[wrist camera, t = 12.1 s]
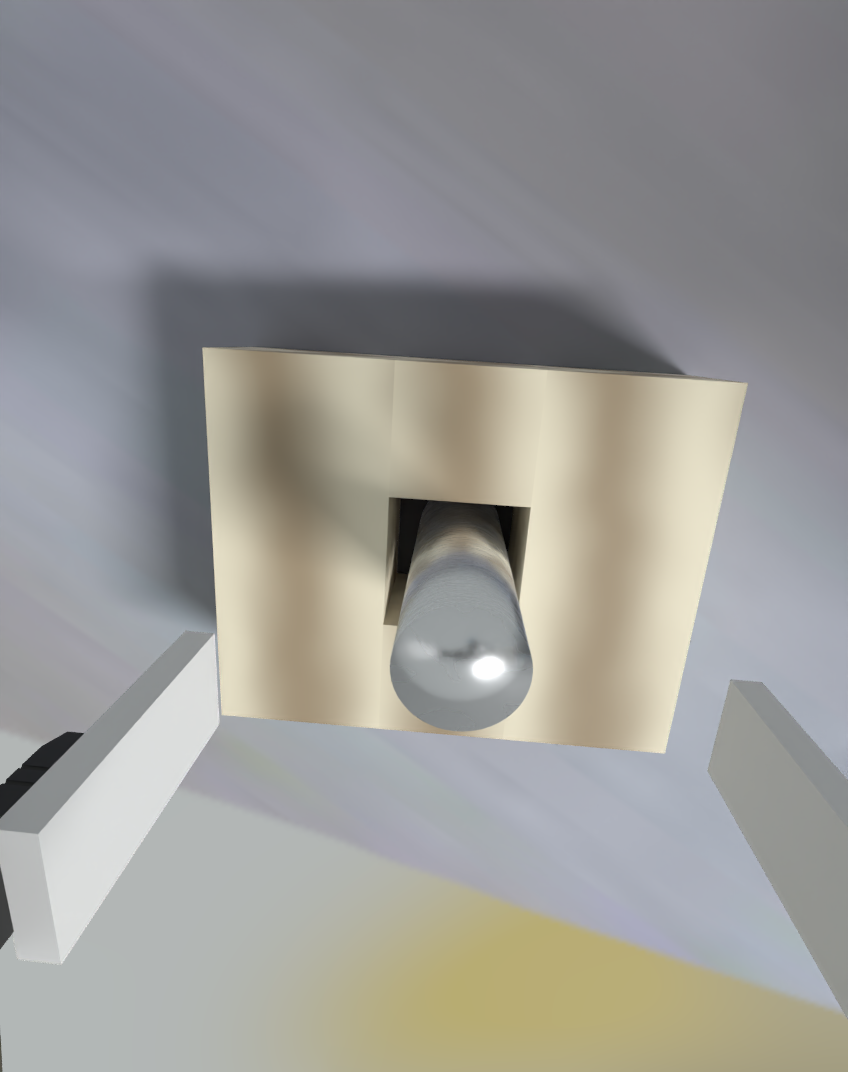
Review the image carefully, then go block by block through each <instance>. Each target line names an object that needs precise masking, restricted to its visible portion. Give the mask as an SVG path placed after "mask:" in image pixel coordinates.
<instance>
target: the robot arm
mask: <svg viewBox="0 0 848 1072" xmlns="http://www.w3.org/2000/svg"><path fill="white" fill-rule="evenodd" d="M218 725H219V707H218V689H217V670H216V652H215V633H204V632H193V631H185V632H184V633H183V634H182V635H181V636H180V637H179V638H178V639H177V640H176V641H175V642H174V643H173V644H172V645H171V646H170V647H169V648H168V649H167V650H166V651H165V652H164V653H163V654H162V655H161V656H160V657H159V658H158V659H157V660H156V661H155V662H154V663H153V664H152V665H151V666H150V667H149V668H148V670H147V671H146V672H145V673H144V674H143V675H142V676H141V677H140V678H139V679H138V680H137V681H136V682H135V683H134V684H133V685H132V686H131V687H130V688H129V689H128V690H127V691H126V692H125V693H124V694H123V695H122V696H121V697H120V698H119V699H118V700H117V701H116V702H115V703H114V704H113V705H112V706H111V707H110V708H109V709H108V710H107V711H106V712H105V713H104V714H103V715H102V716H101V717H100V718H99V719H98V720H97V721H96V722H95V723H94V724H93V725H92V726H91V727H90V728H89V729H88V730H87V731H86V732H85V733H76V732H66V733H64V734H63V735H61V736H59V737H57V738H56V739H54V740H52V741H50V742H48V743H47V744H45V745H43V746H41V747H40V748H39V749H38V750H37V751H36V752H35V753H34V754H33V755H32V756H31V757H30V758H29V759H28V760H27V761H25V762H24V763H23V764H22V767H21V768H18V769H17V770H16V771H15V772H14V773H13V774H12V775H11V776H10V777H9V778H7V779H6V783H5V784H1V785H0V949H1V947H2V946H3V945H4V943H5V942H6V941H7V940H8V938H9V937H10V936H11V935H12V937H13V941H14V946H15V951H16V956H17V959H18V960H25V961H34V962H42V963H51V964H59V965H62V963H63V962H64V960H65V958H66V957H67V955H68V954H69V952H70V951H71V949H72V948H73V946H74V945H75V943H76V942H77V940H78V939H79V937H80V936H81V934H82V933H83V931H84V929H85V928H86V926H87V925H88V923H89V922H90V920H91V919H92V917H93V916H94V914H95V913H96V911H97V909H98V908H99V907H100V905H101V904H102V902H103V901H104V899H105V897H106V896H107V894H108V893H109V891H110V890H111V888H112V887H113V885H114V884H115V882H116V880H117V879H118V878H119V876H120V875H121V873H122V872H123V870H124V868H125V867H126V865H127V864H128V862H129V861H130V859H131V858H132V856H133V855H134V853H135V852H136V850H137V849H138V847H139V846H140V844H141V843H142V841H143V840H144V838H145V837H146V835H147V833H148V832H149V830H150V829H151V827H152V826H153V824H154V823H155V821H156V819H157V818H158V817H159V815H160V814H161V812H162V811H163V809H164V808H165V806H166V804H167V803H168V801H169V800H170V798H171V797H172V795H173V794H174V792H175V791H176V789H177V788H178V786H179V785H180V783H181V782H182V780H183V779H184V777H185V776H186V774H187V772H188V771H189V769H190V768H191V766H192V765H193V763H194V762H195V760H196V759H197V757H198V756H199V754H200V753H201V751H202V750H203V748H204V747H205V745H206V743H207V742H208V740H209V739H210V737H211V736H212V734H213V733H214V731H215V730H216V728H217V727H218ZM708 773H709V775H710V776H711V778H712V780H713V782H714V783H715V785H716V787H717V789H718V791H719V792H720V794H721V796H722V798H723V799H724V801H725V803H726V805H727V807H728V808H729V810H730V812H731V814H732V815H733V817H734V819H735V821H736V822H737V824H738V826H739V828H740V830H741V831H742V833H743V835H744V837H745V838H746V840H747V842H748V844H749V845H750V847H751V849H752V851H753V853H754V854H755V856H756V858H757V860H758V861H759V863H760V865H761V867H762V869H763V870H764V872H765V874H766V876H767V877H768V879H769V881H770V883H771V884H772V886H773V888H774V890H775V892H776V893H777V895H778V897H779V899H780V900H781V902H782V904H783V906H784V908H785V909H786V911H787V913H788V915H789V916H790V918H791V920H792V922H793V923H794V925H795V927H796V929H797V931H798V932H799V934H800V936H801V938H802V939H803V941H804V943H805V945H806V946H807V948H808V950H809V952H810V954H811V955H812V957H813V959H814V961H815V962H816V964H817V966H818V968H819V970H820V971H821V973H822V975H823V977H824V978H825V980H826V982H827V984H828V985H829V987H830V989H831V991H832V993H833V994H834V996H835V998H836V1000H837V1001H838V1003H839V1005H840V1007H841V1009H842V1010H843V1012H844V1014H845V1016H846V1017H847V1019H848V780H847V779H846V778H845V776H844V775H843V774H842V773H841V772H840V771H839V770H838V768H837V767H836V766H835V765H834V764H833V763H832V762H831V760H830V759H829V758H828V757H827V756H826V755H825V754H824V752H823V751H822V750H821V749H820V748H819V747H818V746H817V744H816V743H815V742H814V741H813V740H812V739H811V738H810V736H809V735H808V734H807V733H806V732H805V731H804V730H803V728H802V727H801V726H800V725H799V724H798V723H797V722H796V720H795V719H794V718H793V717H792V716H791V715H790V714H789V712H788V711H787V710H786V709H785V708H784V707H783V706H782V704H781V703H780V702H779V701H778V700H777V699H776V698H775V696H774V695H773V694H772V693H771V692H770V691H769V690H768V688H767V687H766V686H765V685H764V684H763V683H762V682H753V681H742V680H730V684H729V688H728V692H727V696H726V700H725V704H724V708H723V712H722V716H721V720H720V723H719V727H718V731H717V735H716V739H715V743H714V747H713V751H712V755H711V759H710V763H709V767H708ZM0 1072H2V1056H1V1037H0Z"/></svg>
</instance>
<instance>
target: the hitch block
mask: <svg viewBox="0 0 848 1072" xmlns="http://www.w3.org/2000/svg"><path fill="white" fill-rule="evenodd" d="M202 349H203V368H204V387H205V406H206V425H207V444H208V463H209V482H210V501H211V520H212V539H213V558H214V576H215V595H216V614H217V633H218V652H219V671H220V690H221V709H222V715H229V716H240V717H252V718H263V719H275V720H286V721H298V722H309V723H321V724H332V725H344V726H355V727H367V728H378V729H390V730H401V731H413V732H424V733H436V734H447V735H459V736H470V737H482V738H493V739H505V740H516V741H528V742H539V743H551V744H562V745H574V746H585V747H597V748H608V749H620V750H631V751H643V752H654V753H665V750H666V746H667V741H668V737H669V732H670V728H671V724H672V719H673V715H674V710H675V706H676V701H677V697H678V692H679V688H680V683H681V679H682V675H683V670H684V666H685V661H686V657H687V652H688V648H689V643H690V639H691V634H692V630H693V626H694V621H695V617H696V612H697V608H698V603H699V599H700V594H701V590H702V585H703V581H704V577H705V572H706V568H707V563H708V559H709V554H710V550H711V545H712V541H713V536H714V532H715V528H716V523H717V519H718V514H719V510H720V505H721V501H722V496H723V492H724V487H725V483H726V479H727V474H728V470H729V465H730V461H731V456H732V452H733V447H734V443H735V439H736V434H737V430H738V425H739V421H740V416H741V412H742V407H743V403H744V398H745V394H746V390H747V385H748V383H743V382H735V381H728V380H720V379H712V378H705V377H697V376H690V375H678V374H662V373H647V372H632V371H616V370H601V369H586V368H570V367H555V366H540V365H524V364H509V363H494V362H478V361H463V360H448V359H432V358H417V357H402V356H386V355H371V354H356V353H340V352H325V351H309V350H294V349H279V348H263V347H204V348H202ZM401 498H409V499H423V500H436V501H450V502H464V503H477V504H491V505H504V506H513V512H512V521H511V530H510V539H509V548H508V559H509V563H510V568H511V572H512V576H513V580H514V585H515V589H516V593H517V597H518V602H519V606H520V610H521V614H522V619H523V623H524V627H525V631H526V635H527V640H528V644H529V648H530V652H531V657H532V662H533V677H532V682H531V686H530V689H529V691H528V693H527V695H526V697H525V699H524V701H523V702H522V703H521V705H520V706H519V707H518V708H517V709H516V710H515V711H514V712H513V713H512V714H511V715H510V716H508V717H507V718H506V719H504V720H503V721H501V722H499V723H497V724H495V725H493V726H491V727H487V728H484V729H480V730H475V731H466V732H461V731H450V730H444V729H440V728H437V727H434V726H432V725H429V724H427V723H425V722H423V721H422V720H420V719H419V718H417V717H416V716H414V715H413V714H412V713H411V712H410V711H409V710H408V709H407V708H406V707H405V706H404V705H403V704H402V702H401V701H400V699H399V698H398V696H397V694H396V692H395V690H394V688H393V685H392V681H391V676H390V659H391V654H392V649H393V644H394V640H395V635H396V630H397V626H398V621H399V617H400V612H401V607H402V603H403V598H404V593H405V589H406V584H407V580H408V575H409V574H404V573H397V567H398V547H399V527H400V507H401Z"/></svg>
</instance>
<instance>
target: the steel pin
mask: <svg viewBox="0 0 848 1072" xmlns="http://www.w3.org/2000/svg"><path fill="white" fill-rule="evenodd" d="M390 676H391V681H392V685H393V688H394V690H395V692H396V694H397V696H398V698H399V699H400V701H401V702H402V704H403V705H404V706H405V707H406V708H407V709H408V710H409V711H410V712H411V713H412V714H413V715H414V716H416V717H417V718H419V719H420V720H422V721H423V722H425V723H427V724H429V725H432V726H434V727H437V728H440V729H444V730H450V731H461V732H466V731H475V730H480V729H484V728H487V727H491V726H493V725H495V724H497V723H499V722H501V721H503V720H504V719H506V718H507V717H508V716H510V715H511V714H512V713H513V712H514V711H515V710H516V709H517V708H518V707H519V706H520V705H521V703H522V702H523V701H524V699H525V697H526V695H527V693H528V691H529V689H530V686H531V682H532V677H533V662H532V657H531V652H530V648H529V644H528V640H527V635H526V631H525V627H524V623H523V619H522V614H521V610H520V606H519V602H518V597H517V593H516V589H515V585H514V580H513V576H512V572H511V568H510V563H509V559H508V555H507V551H506V547H505V542H504V538H503V534H502V530H501V525H500V521H499V517H498V513H497V511H496V509H495V507H494V505H491V504H477V503H464V502H450V501H436V500H430V501H429V502H428V503H427V505H426V506H425V508H424V510H423V512H422V516H421V520H420V524H419V529H418V533H417V538H416V543H415V547H414V552H413V557H412V561H411V566H410V570H409V575H408V580H407V584H406V589H405V593H404V598H403V603H402V607H401V612H400V617H399V621H398V626H397V630H396V635H395V640H394V644H393V649H392V654H391V659H390Z"/></svg>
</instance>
